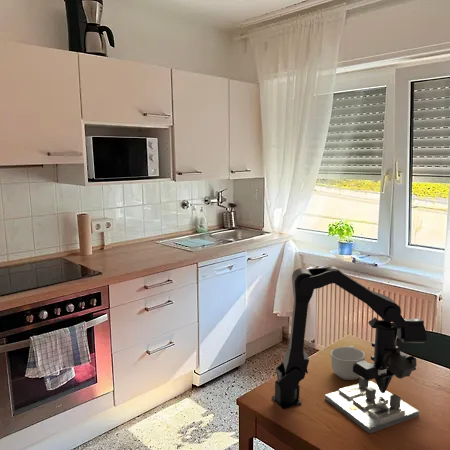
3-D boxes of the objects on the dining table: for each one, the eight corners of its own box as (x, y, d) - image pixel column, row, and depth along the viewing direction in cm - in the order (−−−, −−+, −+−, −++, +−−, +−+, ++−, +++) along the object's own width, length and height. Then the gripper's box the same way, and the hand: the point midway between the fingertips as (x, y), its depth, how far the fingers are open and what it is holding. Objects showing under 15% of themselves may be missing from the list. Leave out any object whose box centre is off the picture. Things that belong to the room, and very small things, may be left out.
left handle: (363, 388, 126) (364, 379, 125) (358, 385, 127) (359, 376, 127) (368, 387, 126) (368, 377, 126) (363, 384, 128) (363, 374, 128)
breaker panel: (369, 433, 109) (369, 424, 108) (325, 399, 125) (325, 391, 124) (418, 415, 116) (419, 407, 116) (370, 385, 132) (371, 377, 132)
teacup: (357, 387, 131) (358, 363, 130) (324, 377, 138) (325, 354, 137) (371, 370, 142) (372, 347, 141) (341, 361, 149) (341, 340, 148)
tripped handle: (370, 401, 119) (371, 391, 118) (365, 397, 121) (366, 387, 120) (375, 399, 120) (376, 389, 119) (370, 396, 121) (370, 386, 121)
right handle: (395, 409, 115) (395, 399, 114) (389, 405, 117) (390, 395, 116) (400, 407, 116) (400, 397, 115) (394, 404, 117) (394, 394, 117)
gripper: (382, 359, 109) (379, 415, 111) (432, 346, 117) (428, 398, 119) (352, 343, 119) (350, 394, 121) (400, 332, 127) (397, 380, 129)
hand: (382, 392), depth 122 cm, fingers closed
